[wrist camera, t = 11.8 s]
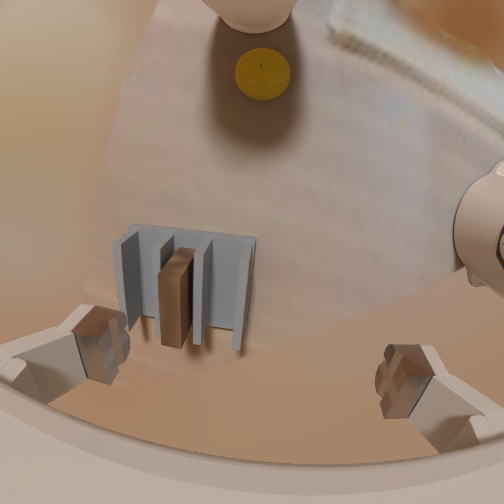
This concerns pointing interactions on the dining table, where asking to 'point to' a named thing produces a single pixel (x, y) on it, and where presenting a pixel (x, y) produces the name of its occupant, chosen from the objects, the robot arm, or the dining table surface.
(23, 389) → the robot arm
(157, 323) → the rack
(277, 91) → the lemon
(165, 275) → the board
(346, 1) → the dining table surface
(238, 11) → the jar
